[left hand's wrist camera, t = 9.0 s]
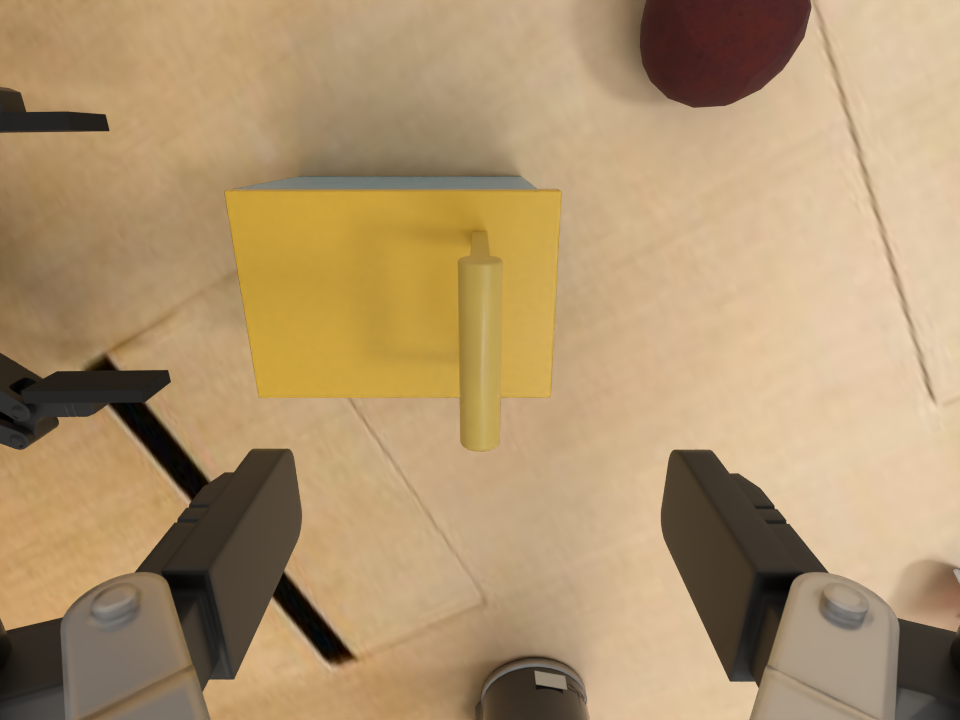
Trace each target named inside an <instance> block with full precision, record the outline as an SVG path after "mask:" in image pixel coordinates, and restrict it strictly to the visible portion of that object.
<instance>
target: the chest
mask: <svg viewBox="0 0 960 720" xmlns="http://www.w3.org/2000/svg"><path fill="white" fill-rule="evenodd" d="M236 189H537V188H535V187H534V186H533V185H532V184H530V183H529V182H528V181H527V180H525V179H524V178H523V177H521V176H300V177H294V178H289V179H283V180H278V181H273V182H268V183H262V184H257V185H252V186H247V187H242V188H236Z"/></svg>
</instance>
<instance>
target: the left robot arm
mask: <svg viewBox="0 0 960 720" xmlns="http://www.w3.org/2000/svg"><path fill="white" fill-rule="evenodd" d="M301 523H302V510H301V502H300V496H299V489H298V482H297V475H296V468H295V462H294V456H293V453H292V451H291V450H290V449H252V450H251V451H250V452H249V453H248V454H247V456H246V457H245V458H244V460H243V461H242V462H241V464H240V465H239V466H238V468H237V469H236V470H235V472H234V473H223V474H222V475H220V476H219V477H218V478H216V479H215V480H213V481H212V482H210V483H209V484H207V485H206V486H204V487H203V488H202V489H201V490H200V492H199V493H198V494H197V495H196V497H195V498H194V499H193V500H192V502H191V503H190V504H189V508H186V509H185V510H184V512H183V513H182V514H181V515H180V517H179V518H178V521H177V523H174V524H173V525H172V527H171V528H170V529H169V530H168V532H167V533H166V534H165V535H164V537H163V538H162V539H161V540H160V542H159V543H158V544H157V545H156V546H155V548H154V549H153V550H152V551H151V553H150V554H149V555H148V556H147V558H146V559H145V560H144V561H143V563H142V564H141V565H140V566H139V568H138V569H137V570H136V571H135V573H130V574H125V575H121V576H118V577H115V578H112V579H110V580H108V581H105V582H103V583H101V584H99V585H97V586H96V587H94V588H92V589H91V590H89V591H88V592H86V593H85V594H84V595H82V596H81V597H80V598H79V599H77V600H76V601H75V602H74V603H73V604H72V605H71V607H70V608H69V609H68V610H67V612H66V613H65V615H64V617H62V618H59V619H54V620H50V621H46V622H42V623H37V624H33V625H29V626H24V627H20V628H16V629H12V630H7V631H5V628H4V626H3V624H2V621H1V619H0V720H211V719H210V716H209V713H208V710H207V706H206V703H205V700H204V697H203V693H202V692H203V690H204V688H205V686H206V684H207V682H208V680H209V679H234V678H235V676H236V674H237V672H238V670H239V667H240V665H241V663H242V661H243V659H244V656H245V654H246V652H247V650H248V648H249V646H250V643H251V641H252V639H253V637H254V635H255V632H256V630H257V628H258V626H259V624H260V622H261V619H262V617H263V615H264V613H265V611H266V608H267V606H268V604H269V602H270V600H271V598H272V595H273V593H274V591H275V589H276V587H277V584H278V582H279V580H280V578H281V576H282V573H283V571H284V569H285V567H286V565H287V563H288V560H289V558H290V556H291V554H292V552H293V549H294V547H295V545H296V543H297V541H298V538H299V534H300V530H301ZM661 526H662V533H663V537H664V540H665V542H666V545H667V547H668V549H669V551H670V553H671V555H672V557H673V560H674V562H675V564H676V566H677V568H678V570H679V573H680V575H681V577H682V579H683V581H684V583H685V586H686V588H687V590H688V592H689V594H690V596H691V598H692V601H693V603H694V605H695V607H696V609H697V611H698V614H699V616H700V618H701V620H702V622H703V624H704V627H705V629H706V631H707V633H708V635H709V637H710V639H711V642H712V644H713V646H714V648H715V650H716V652H717V655H718V657H719V659H720V661H721V663H722V665H723V668H724V670H725V672H726V674H727V676H728V678H729V680H730V681H755V682H756V684H757V686H758V688H759V690H758V693H757V697H756V700H755V703H754V706H753V710H752V713H751V716H750V719H749V720H960V626H959V628H958V630H957V632H953V631H949V630H945V629H940V628H936V627H932V626H927V625H923V624H919V623H915V622H910V621H906V620H902V619H899V618H897V617H896V615H895V613H894V612H893V610H892V609H891V608H890V607H889V605H888V604H887V603H886V602H885V601H884V600H883V599H881V598H880V597H879V596H878V595H876V594H875V593H874V592H872V591H871V590H869V589H868V588H866V587H864V586H863V585H861V584H859V583H857V582H855V581H852V580H850V579H848V578H845V577H842V576H839V575H835V574H830V573H829V572H828V571H827V570H826V569H825V568H824V566H823V565H822V564H821V563H820V561H819V560H818V559H817V558H816V556H815V555H814V554H813V553H812V552H811V550H810V549H809V548H808V547H807V545H806V544H805V543H804V542H803V540H802V539H801V538H800V537H799V535H798V534H797V533H796V532H795V531H794V529H793V528H792V527H791V526H790V524H787V523H786V519H785V518H784V517H783V516H782V514H781V513H780V512H779V511H778V510H777V509H775V508H774V505H773V503H772V502H771V501H770V500H769V498H768V497H767V496H766V495H765V493H764V492H763V491H762V490H761V489H760V488H759V487H758V486H756V485H755V484H753V483H752V482H750V481H749V480H747V479H746V478H744V477H743V476H741V475H740V474H729V472H728V471H727V470H726V468H725V467H724V466H723V464H722V463H721V462H720V460H719V459H718V458H717V456H716V455H715V454H714V453H713V451H711V450H673V451H672V452H671V454H670V457H669V461H668V468H667V475H666V481H665V488H664V495H663V501H662V508H661ZM476 720H590V718H589V713H588V708H587V696H586V691H585V687H584V684H583V682H582V680H581V678H580V677H579V676H578V674H577V673H576V672H574V671H573V670H572V669H571V668H569V667H567V666H566V665H564V664H562V663H559V662H556V661H552V660H548V659H538V658H532V659H523V660H518V661H514V662H511V663H508V664H506V665H504V666H502V667H500V668H499V669H497V670H496V671H495V672H493V673H492V674H491V675H490V676H489V677H488V679H487V680H486V682H485V683H484V685H483V688H482V692H481V702H480V703H479V704H478V705H476Z"/></svg>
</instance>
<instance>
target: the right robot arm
mask: <svg viewBox="0 0 960 720" xmlns="http://www.w3.org/2000/svg"><path fill="white" fill-rule="evenodd" d="M81 131H109V127H108V123H107V119H106V115H105V114H92V113H78V112H26V110H25V106H24V103H23V99H22V96H21V93H20V92H17V91H15V90H12V89H10V88H3V87H0V133H7V132H81ZM170 382H171V380H170V376H169V372H168V370H137V371H57V372H55V373H53V374H51V375H49V376H48V377H46V378H44V379H42V378H41V377H39V376H37V375H36V374H34V373H33V372H31V371H29V370H28V369H26V368H24V367H23V366H21V365H19V364H18V363H16V362H14V361H13V360H11V359H9V358H8V357H6V356H4V355H3V354H1V353H0V443H1V444H4V445H6V446H9V447H12V448H15V449H19V450H21V449H25V448H26V447H28V446H29V445H31V444H32V443H34V442H35V441H37V440H38V439H40V438H41V437H43V436H44V435H46V434H47V433H49V432H50V431H52V430H53V429H55V428H56V427H57V426H58V424H59V421H58V418H57V417H76V416H78V417H87V416H90V415H92V414H95V413H96V412H98V411H99V410H101V409H102V408H103V407H105V406H106V405H108V404H109V403H122V402H146V401H147V400H148V399H149V398H151V397H152V396H153V395H155V394H156V393H157V392H159V391H160V390H161V389H162V388H164V387H165V386H166V385H168V384H169V383H170Z"/></svg>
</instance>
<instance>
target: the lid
mask: <svg viewBox="0 0 960 720" xmlns="http://www.w3.org/2000/svg"><path fill="white" fill-rule="evenodd" d="M224 193H225V199H226V205H227V211H228V217H229V223H230V229H231V235H232V241H233V247H234V253H235V259H236V265H237V271H238V277H239V283H240V289H241V295H242V301H243V307H244V313H245V319H246V325H247V331H248V337H249V343H250V349H251V355H252V360H253V366H254V372H255V378H256V384H257V390H258V396H259V397H260V398H426V397H460V441H461V444H462V445H463V447H465V448H466V449H468V450H472V451H478V452H482V451H489V450H492V449H494V448H496V447H497V446H498V444H499V442H500V402H501V397H550V396H551V380H552V361H553V342H554V323H555V305H556V286H557V267H558V249H559V230H560V211H561V191H560V190H558V189H232V190H227V191H225V192H224Z"/></svg>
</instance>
